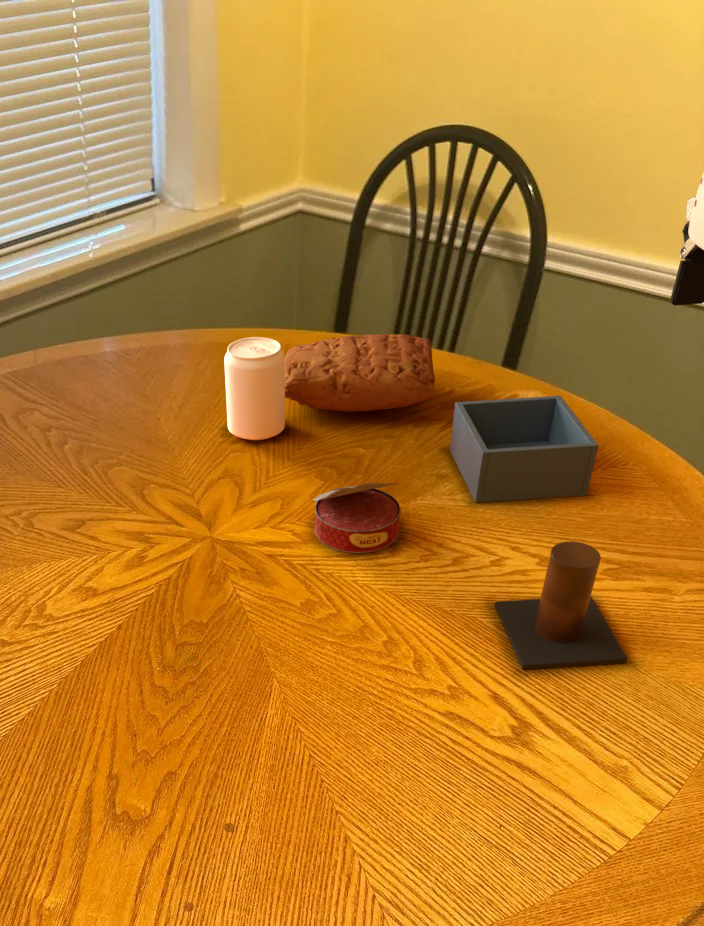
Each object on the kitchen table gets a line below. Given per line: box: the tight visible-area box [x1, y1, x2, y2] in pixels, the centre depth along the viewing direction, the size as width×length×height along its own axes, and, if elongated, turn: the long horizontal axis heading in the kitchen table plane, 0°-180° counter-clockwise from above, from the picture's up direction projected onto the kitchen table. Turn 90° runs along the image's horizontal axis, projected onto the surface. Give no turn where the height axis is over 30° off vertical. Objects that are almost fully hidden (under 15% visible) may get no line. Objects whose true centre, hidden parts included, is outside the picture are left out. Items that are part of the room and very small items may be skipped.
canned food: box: [312, 482, 402, 554], centre depth 103 cm, size 11×10×10 cm
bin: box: [449, 395, 599, 504], centre depth 111 cm, size 14×14×7 cm
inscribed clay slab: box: [285, 333, 436, 412], centre depth 129 cm, size 22×17×8 cm
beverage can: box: [223, 336, 286, 441], centre depth 122 cm, size 8×8×12 cm
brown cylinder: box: [535, 540, 602, 643], centre depth 86 cm, size 4×4×9 cm
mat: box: [493, 596, 628, 670], centre depth 89 cm, size 10×10×1 cm
